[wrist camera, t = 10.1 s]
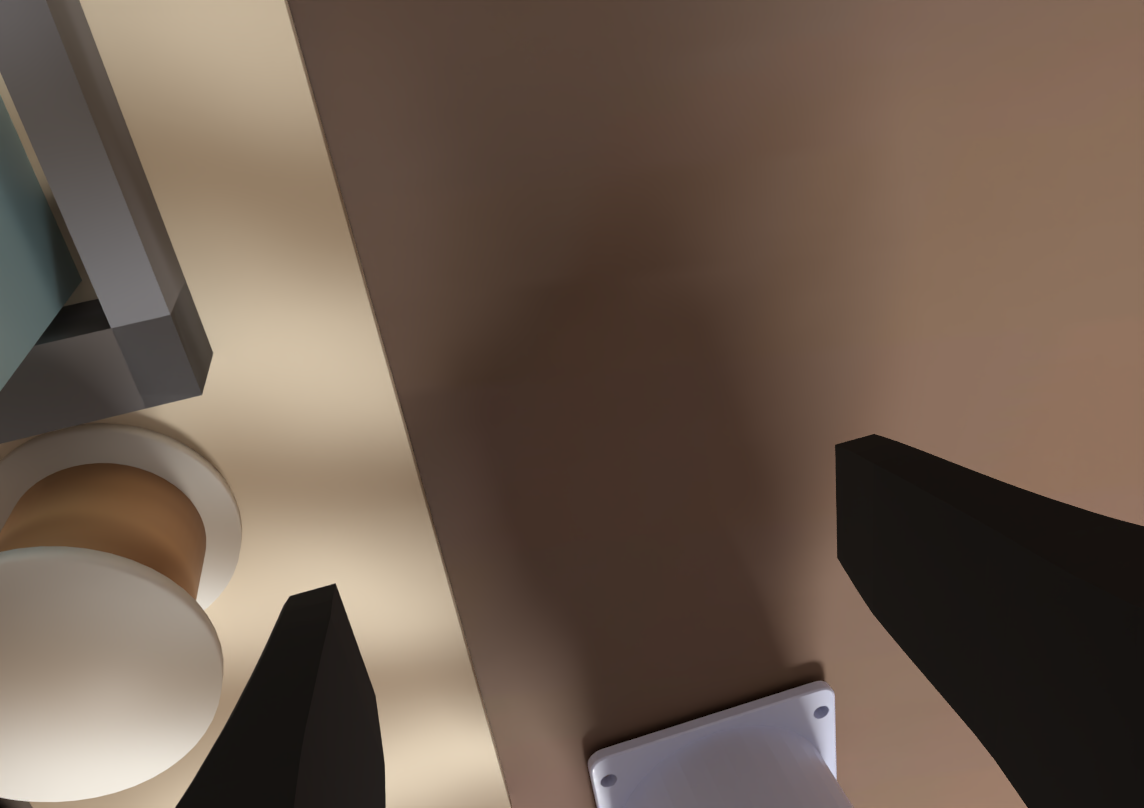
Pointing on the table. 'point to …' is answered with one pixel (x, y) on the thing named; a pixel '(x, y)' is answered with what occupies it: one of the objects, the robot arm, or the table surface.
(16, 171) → the pale blue block
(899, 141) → the table surface
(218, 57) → the winding board
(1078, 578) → the robot arm
